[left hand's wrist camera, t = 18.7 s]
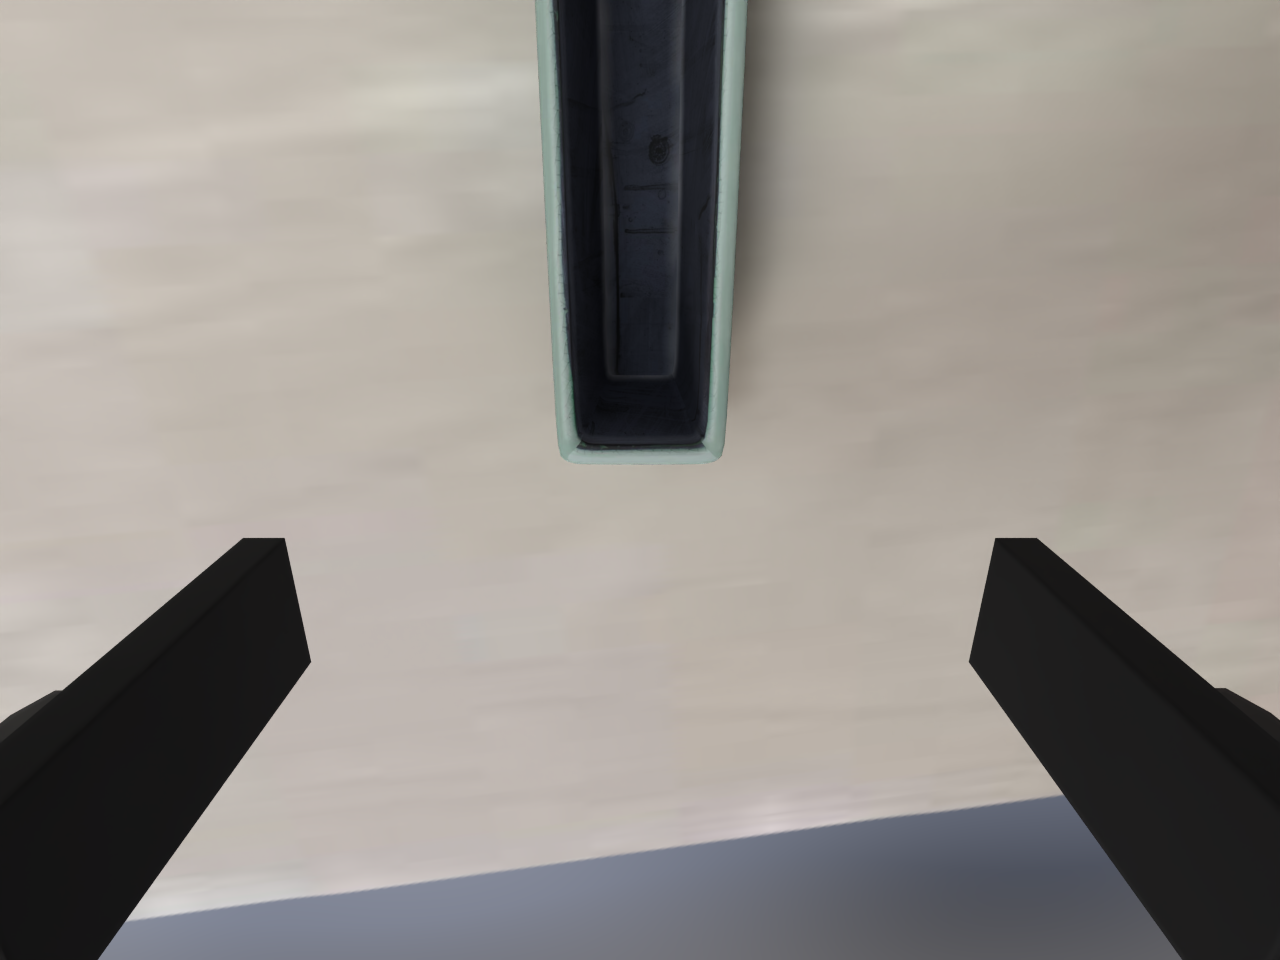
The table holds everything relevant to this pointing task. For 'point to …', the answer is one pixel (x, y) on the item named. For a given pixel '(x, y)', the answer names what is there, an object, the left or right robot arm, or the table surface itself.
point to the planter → (641, 221)
